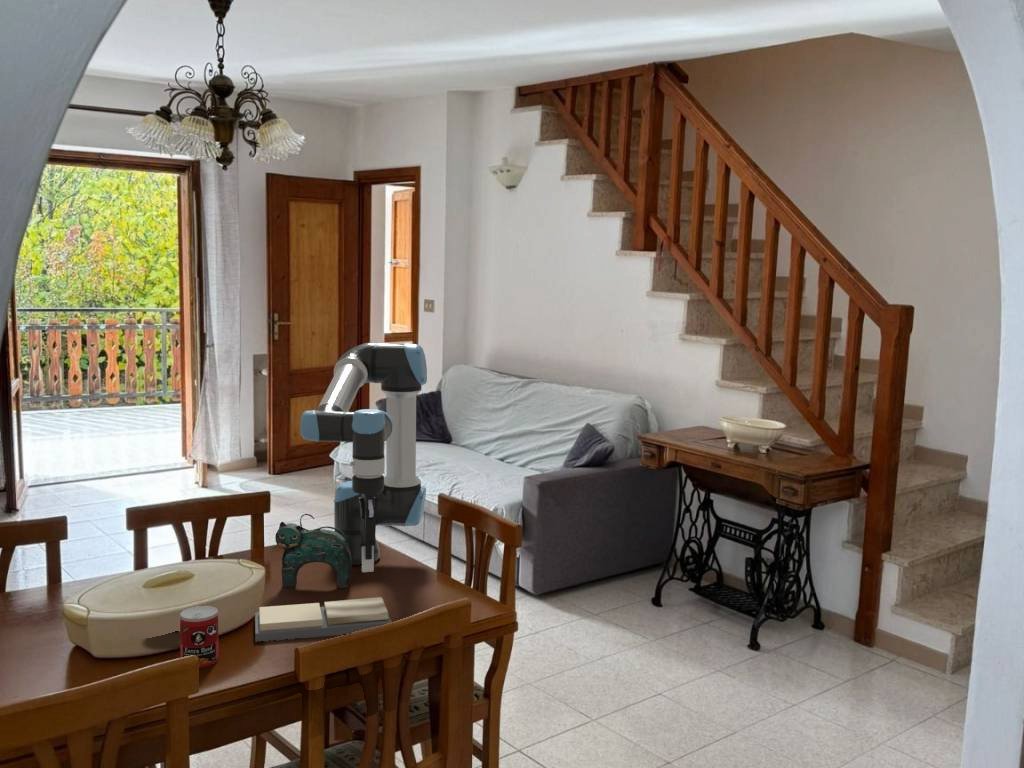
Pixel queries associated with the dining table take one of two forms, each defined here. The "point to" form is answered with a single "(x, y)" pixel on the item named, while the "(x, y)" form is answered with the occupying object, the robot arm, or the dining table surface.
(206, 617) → the canned food
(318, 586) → the dining table surface
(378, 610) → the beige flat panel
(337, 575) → the ceramic cat
